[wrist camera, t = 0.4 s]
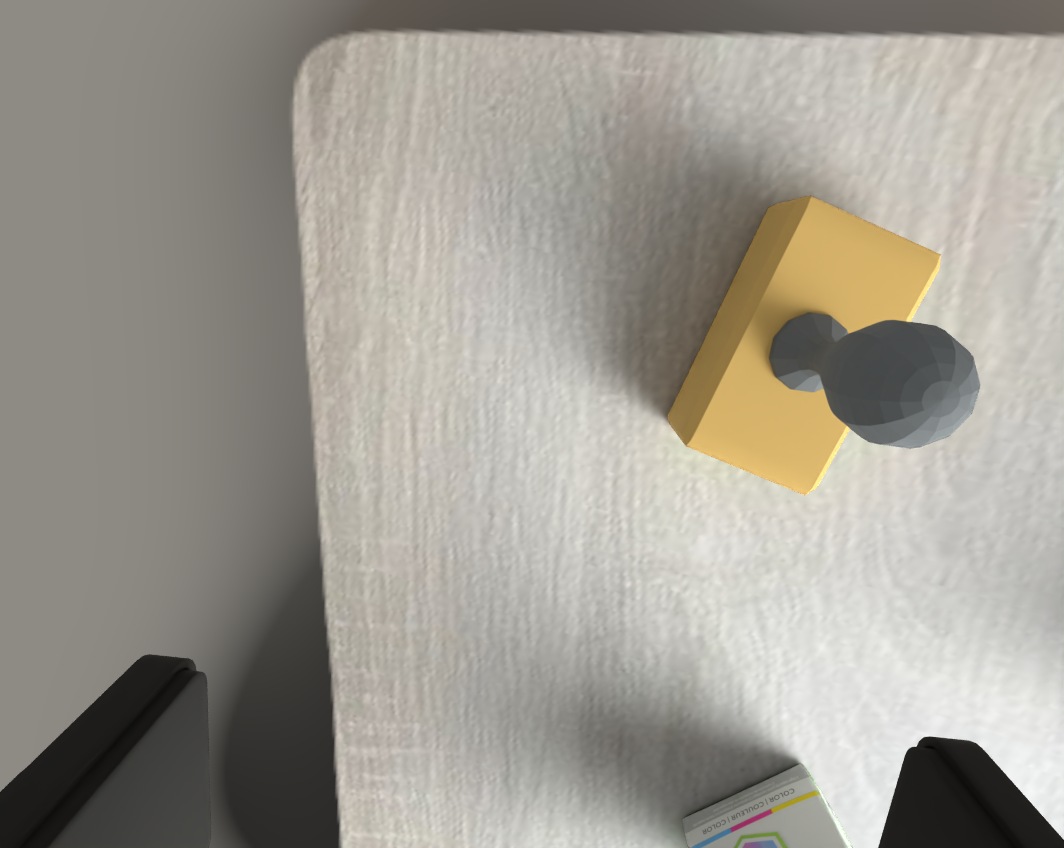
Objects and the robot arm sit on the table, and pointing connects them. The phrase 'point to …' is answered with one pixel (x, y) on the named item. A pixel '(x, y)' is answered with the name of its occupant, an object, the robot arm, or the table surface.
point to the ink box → (769, 817)
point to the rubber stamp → (822, 350)
